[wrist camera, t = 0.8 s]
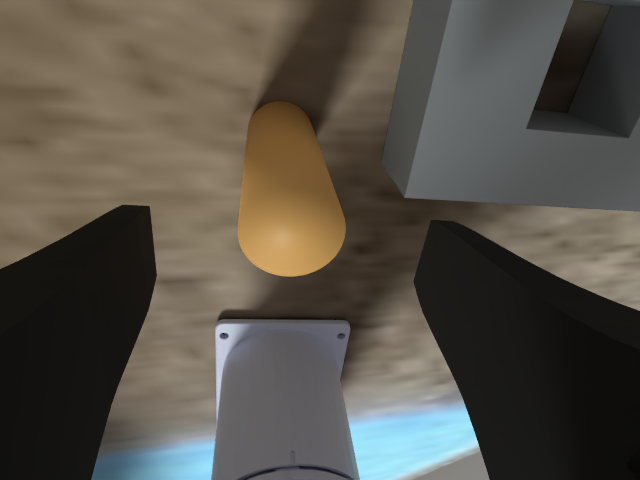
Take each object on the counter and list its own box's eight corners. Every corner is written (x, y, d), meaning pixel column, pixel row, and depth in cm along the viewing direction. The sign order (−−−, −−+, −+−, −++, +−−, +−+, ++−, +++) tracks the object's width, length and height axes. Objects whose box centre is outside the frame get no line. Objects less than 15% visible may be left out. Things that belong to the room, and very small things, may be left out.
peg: (309, 167, 20) (337, 277, 13) (246, 163, 20) (236, 275, 12) (316, 104, 19) (353, 186, 11) (248, 98, 18) (238, 179, 11)
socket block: (611, 179, 23) (673, 213, 19) (380, 162, 20) (404, 197, 17) (738, -71, 17) (857, -86, 14) (439, -129, 15) (491, -163, 12)
